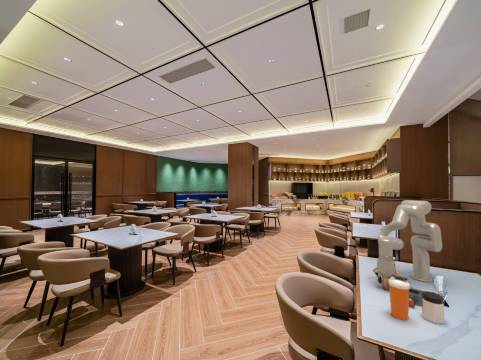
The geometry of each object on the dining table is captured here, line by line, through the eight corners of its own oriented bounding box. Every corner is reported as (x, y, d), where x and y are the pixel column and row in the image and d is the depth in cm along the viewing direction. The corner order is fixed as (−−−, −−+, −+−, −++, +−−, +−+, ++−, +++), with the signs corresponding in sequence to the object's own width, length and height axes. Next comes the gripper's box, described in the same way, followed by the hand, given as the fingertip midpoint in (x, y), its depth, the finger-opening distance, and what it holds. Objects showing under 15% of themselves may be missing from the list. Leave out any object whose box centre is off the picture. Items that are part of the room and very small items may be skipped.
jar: (448, 321, 104) (447, 297, 104) (440, 326, 100) (439, 300, 101) (426, 312, 112) (425, 289, 112) (418, 316, 108) (417, 292, 109)
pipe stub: (383, 287, 140) (382, 272, 140) (391, 289, 136) (391, 274, 137) (381, 289, 137) (380, 274, 137) (389, 292, 133) (389, 276, 134)
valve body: (403, 294, 132) (403, 285, 132) (426, 301, 124) (426, 291, 124) (397, 303, 121) (397, 294, 121) (422, 312, 112) (422, 301, 113)
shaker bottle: (412, 323, 102) (411, 282, 103) (389, 317, 107) (388, 277, 108) (409, 314, 109) (408, 275, 110) (388, 309, 114) (387, 272, 115)
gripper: (403, 259, 134) (403, 288, 133) (372, 253, 146) (373, 279, 146) (400, 262, 129) (401, 292, 128) (369, 255, 141) (369, 282, 140)
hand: (386, 284), depth 137 cm, fingers open, 6 cm apart
